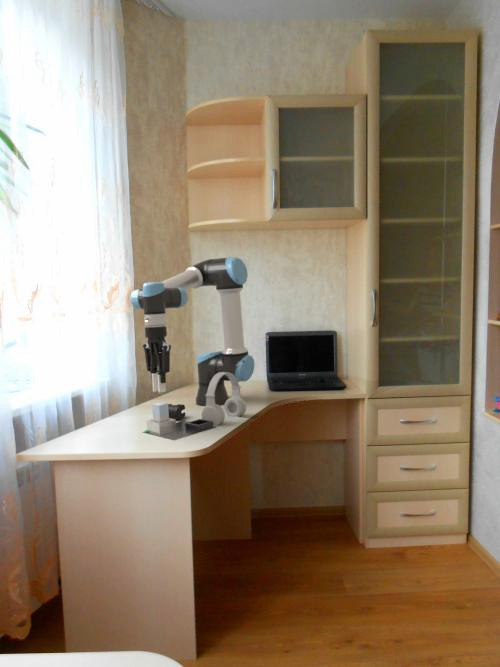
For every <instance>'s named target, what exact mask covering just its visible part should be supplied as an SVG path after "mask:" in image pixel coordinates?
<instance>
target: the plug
mask: <svg viewBox="0 0 500 667" xmlns="http://www.w3.org/2000/svg"><path fill="white" fill-rule="evenodd" d="M168 404H169V403H168V402H167V403H166V402H157V403H153V404H151V406H152V407H151V408H152V419H153V422H158V423H161V422H165V421H169V411H168Z"/></svg>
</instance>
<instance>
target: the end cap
mask: <svg viewBox="0 0 500 667" xmlns="http://www.w3.org/2000/svg"><path fill="white" fill-rule="evenodd" d="M184 410H186V406H185V404H180V403H179V404H172V403H168V411H169V418H171V419H176V421H177V422H181V421H182V418H184V417H186V411H184ZM182 411H184V412H182Z"/></svg>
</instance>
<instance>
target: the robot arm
mask: <svg viewBox="0 0 500 667" xmlns="http://www.w3.org/2000/svg"><path fill="white" fill-rule="evenodd" d="M248 273H249V272H248V269H247V266H246V263H245V262H244V261H243V259H241V258H239V257H232V256H229V257H223V258H222V257H221V258H211V259H206V260H203V261H200V262H198V263H196V264H193V265H190V266H188V267H187V268H186V269H185V271H184V272H181V273H179V274H176V275H174V276H172V277H170V278H167V279H164V280H163V281H160V282H158V281H157V282H145V283H144V284H143V285H142V288H139V289H135V290H133V291H132V292H131V294H130V303H131V305H132V307H133V308H135V309H140V310H143V315H144V326H146V327H145V328H144V335H145V336H144V337H145V338H147V342H146V344H145V343H144V344H143V345H142V348H143V351H144V357H145V364H146V366H145V367H146V371H147V372H150V375H151V382H152V383H151V385H152V392H153V393H155V392H158V393H164V392H167V389H166V383H167V376H166V374H167V373H169V372H170V369H171V367H170V366H171V364H170V363H171V361H170V360H171V348H172V345H171V344H168V343H167V342H166V339H165V338H167V336H168V333H167V330H168V329H167V326H166V325H167V315H166V314H167V313H166V309H179V308H183V307H185V306H186V304H187V302H188V293H187V291H189V290H191V289H199V288H201V287H208V286H209V287H213V286H214V287H215V289H216V292H218V293H219V294H220V305H221V306H220V308H221V319H222V332H223V342H224V349H223V350H215V351H209V352H205V353H200V354H199V355H198V356H197V377H198V389H197V394H196V397H195V404H196V405H198V406H203V407H205V406H206V396H205V395H206V394H207V390H208V387H209V384H210V382H211V380H212V378H213V377H214V376H215V375H216V374H217V373H219V372H228V373H232V374H233V375H234V376H235V377H236V379H237V381H238V383H240V382H243V383H244V382H247V381H249V380H250V379H251V377H252V375H253V374H254V371H255V359H254V358H253V357H254V356H252V355H250V354H249V349H247V348H246V347H245V340H244V339H245V338H244V337H245V336H244V326H243V316H242V312H243V311H242V303H241V301H242V300H241V292H242V290H243V289H244V284H246V283H247V281H248V276H249V274H248ZM225 381H226V382H231V381H230V379H229V378H228V376H227V375H223V376H222V377H221V378H220V380H219V381H218V383H217V386H216V389H215V394H214V395H215V404H217V405H219V406H220V405H221V406H222V405H225V402H226V401H227V400H228V399H229V398H230V397H229V395H228V392H227V388H226V385H225Z"/></svg>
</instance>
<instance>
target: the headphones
mask: <svg viewBox="0 0 500 667" xmlns="http://www.w3.org/2000/svg"><path fill="white" fill-rule="evenodd" d="M223 375H227V376H228V378H229V379H230V381H229V382H230V385H231V396H230V397H229V399H228V400H227V401H226V402H225V404H224V408H223V407H222V405H221V406H220V405H217V404H215V395H214V394H215V389H216V386H217V383H218V381H219V380H220V378H221V377H222V376H223ZM239 383H240V382H238V381H237V379H236V377H235V376H234V375H233V374H232V373H228V372H219V373H217V374H216V375H215V376H214V377H213V378H212V380H211V382H210V384H209V387H208V390H207V394H206V395H205V396H206V406H204V407H203V409H202V411H201V419H203V420H208V421H213V426H214V427H218V426H220V425H221V424H223V422H224V421H225V417H226V415H227V416H228V417H238V418H239V417H242V416H244V414H245V413H246V411H247V403H246V401H245V400H244V398H243V397H242V394H241V388H242V387H241V385H240V384H239Z"/></svg>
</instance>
